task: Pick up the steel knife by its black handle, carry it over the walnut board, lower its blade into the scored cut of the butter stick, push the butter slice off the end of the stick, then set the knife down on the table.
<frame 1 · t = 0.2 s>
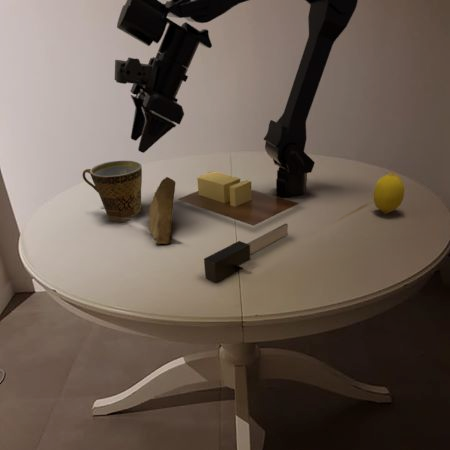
hand: (136, 145, 86), 15 cm above the table, tool tilted 30°, fingers open, 9 cm apart
butter stick: (219, 195, 101), resting on butter board
rock: (160, 234, 89), on the table
butter board: (236, 205, 98), on the table
knife: (245, 261, 78), on the table
ceramic cup: (118, 216, 97), on the table
lemon: (385, 214, 92), on the table
butter slice: (241, 202, 97), point 1 cm above the table, touching butter board
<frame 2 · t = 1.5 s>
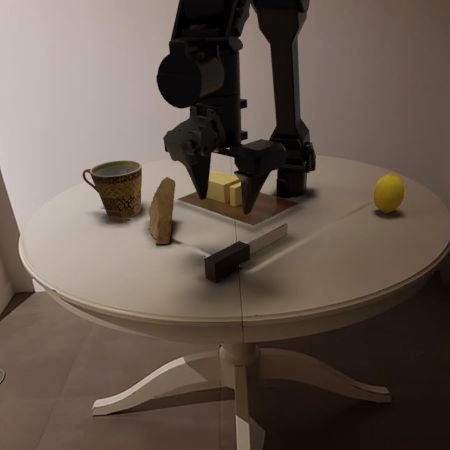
hand: (224, 206, 69), 11 cm above the table, tool pointing down, fingers open, 9 cm apart
nothing on the table moved.
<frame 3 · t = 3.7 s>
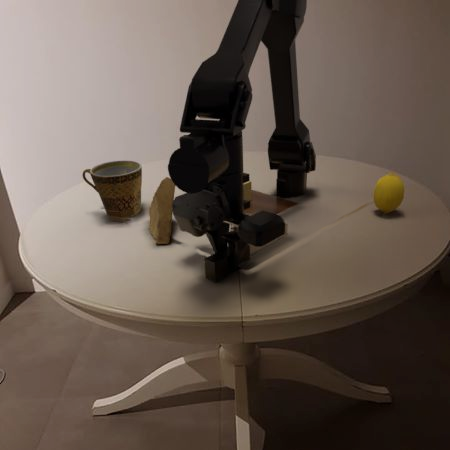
hand: (228, 265, 75), 1 cm above the table, tool pointing down, fingers closed on knife, 2 cm apart
knife: (245, 261, 78), on the table, touching gripper
everything else where it was.
when the fingers open (1 cm above the table, at t = 14.4 s): knife stays where it is, on the table.
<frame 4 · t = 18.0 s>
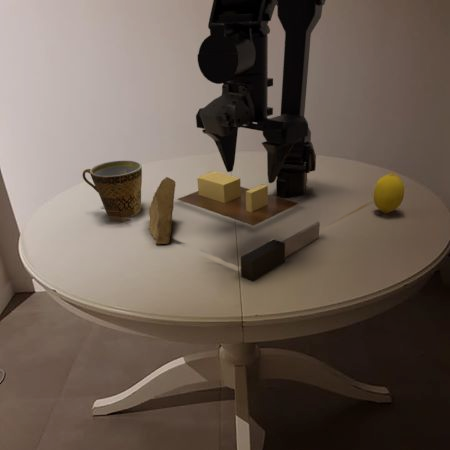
hand: (249, 176, 77), 12 cm above the table, tool pointing down, fingers open, 9 cm apart
knife: (279, 260, 78), on the table
butter slice: (257, 207, 94), point 1 cm above the table, touching butter board
everything else where it was.
at the end: butter slice moved 4.4 cm from its start; butter slice inside the target area on the butter board (5.8 cm from its centre), point 1.0 cm above the butter board's base; the gripper is holding nothing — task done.
